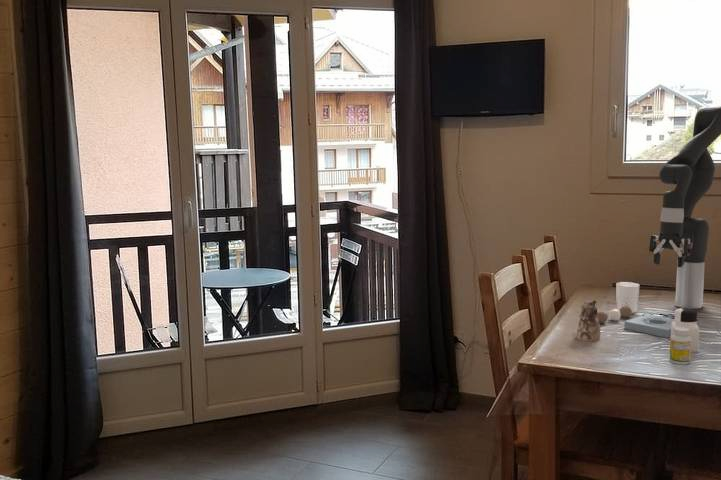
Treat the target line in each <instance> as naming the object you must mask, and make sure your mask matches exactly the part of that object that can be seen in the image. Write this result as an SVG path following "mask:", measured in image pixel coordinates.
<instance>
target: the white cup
mask: <svg viewBox="0 0 721 480" xmlns="http://www.w3.org/2000/svg"><path fill="white" fill-rule="evenodd" d="M615 284H616V285H615V286H616V288H615V289H616V290H615V291H616V293H615V294H616V295H615V297H616V310H618V311H619V312H620V309H621V308H622V307H624V306H628V307H630V308H631V310H632V314H633V313H635V314H636V312H637V310H638V309H637V308H638V303H639V302H638V301H639V294H640V293H639V292H640V284H639V283H638V282H637V283H635V282H628V281H626V282H625V281H619V282H616V283H615Z"/></svg>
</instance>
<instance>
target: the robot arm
mask: <svg viewBox="0 0 721 480" xmlns="http://www.w3.org/2000/svg"><path fill="white" fill-rule="evenodd" d="M695 113H696V114H695V115H694V121H693V132H692V137H691V138H690V139H688V140H687V141H686V142H685V143H684V144H683V145H682V147H681V148H680V150H678V152H677V154H675V156H673V157H672V158H671V159H669V160H668V161H667V162H665V164H663V166H662V167H661V168H660V171H659V180H660V182H662V183H663V184H666V185H676V186H675V188H673V190H667V191H665V192H664V193H663V196H662V206H661V207H662V209H661V213H660V226H659V235H656V234H653V235H651V236H650V240H649V246H648V247H649V248H648V251H649V252H651V253H652V254H653V263H654V264H655V265H660V262H661V261H660V260H661V254H660V253H662V251H663V250H666V249H669V250H674V252H676V254H677V262H676V263H677V265H676V280H675V281H676V283H675V300H674V301H675V302H674V304H675V305H674V306H676V307H679V308H689V309H693V310H695V309H696V310H697V309H701V308H703V298H704V286H705V284H704V283H705V281H704V280H705V261H706V257H707V251H708V250H707V249H708V241H709V233H710V231H709V230H710V228H709V222H708V221H707V220H706V219H704V218H696V217H692V215H693V212H694V209H695V208H696V205H697V204H698V203H699V202H700V200H701V199H702V198H703V197H704V196H705V195H706V194H707V193H708V192H709V190H710V189H711V187H712V185H713V181H714V177H715V171H716V165H715V162H714V159H713V158H712V155H711V154H710V151H709V150H708V148H709V147H710V146H711V145H712V144H713V143H714V142H715V141H716V140H717V139H718V138H719V137H720V136H721V106H702V107H700V108H698V109H697V111H696V112H695ZM658 242H659V244H658V245H657V243H658ZM681 244H682V245H683V247H682V245H681ZM691 245H692V246H691Z"/></svg>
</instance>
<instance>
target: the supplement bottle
mask: <svg viewBox="0 0 721 480" xmlns="http://www.w3.org/2000/svg"><path fill="white" fill-rule="evenodd" d="M674 334H675V335H672V336H671V337H670V340H671V343H670V342H669V343H670V347H669V361H670V363H672V364H675V365H689V364H690V363H691V356H692V355H691V353H692V352H691V338H690V337H689V336H688V335H689V329H687V328H682V327H676V328H674Z"/></svg>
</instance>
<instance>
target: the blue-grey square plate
mask: <svg viewBox="0 0 721 480" xmlns="http://www.w3.org/2000/svg"><path fill="white" fill-rule="evenodd" d="M674 319H675V318H670V317H665V316H659V315H655V314H650V313H649V314H644V315H641V316H638V317H634V318H630V319H627V320H624V323H623V324H624V326H623V329H624V330H629V331H634V332H639V333H643V334H648V335H651V336H652V335H653V336H657V337H662V338H666V339H667V338H671V323H672V322H674Z"/></svg>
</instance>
